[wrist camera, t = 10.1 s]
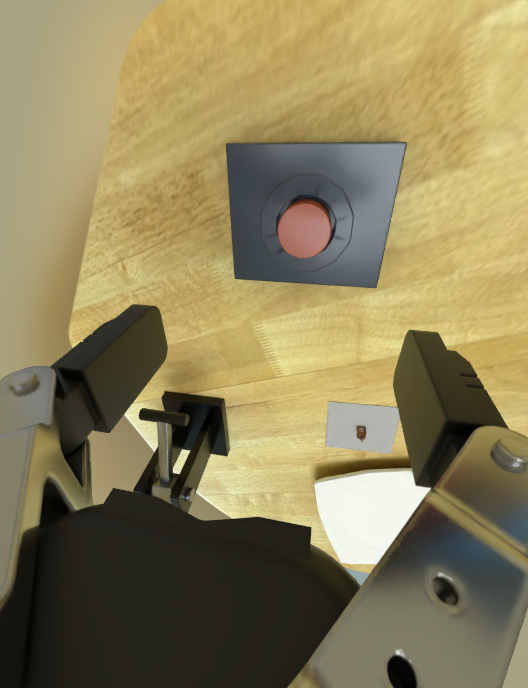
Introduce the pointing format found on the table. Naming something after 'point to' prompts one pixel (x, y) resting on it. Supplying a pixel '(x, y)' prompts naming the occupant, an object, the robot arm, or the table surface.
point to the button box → (320, 185)
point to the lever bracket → (190, 444)
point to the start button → (304, 228)
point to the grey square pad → (361, 427)
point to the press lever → (164, 448)
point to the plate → (366, 510)
